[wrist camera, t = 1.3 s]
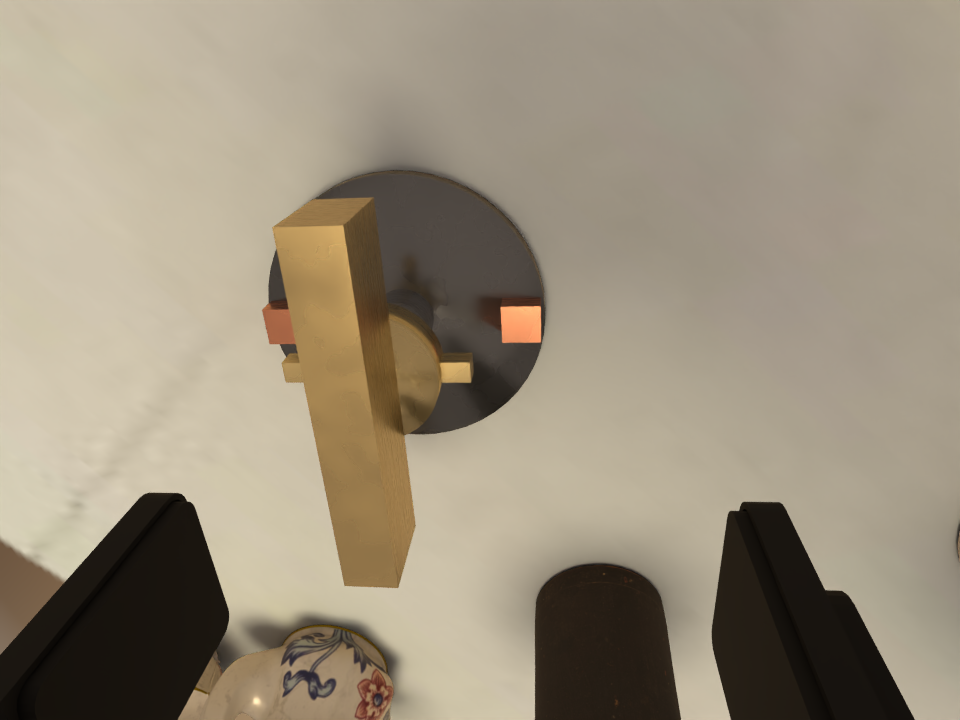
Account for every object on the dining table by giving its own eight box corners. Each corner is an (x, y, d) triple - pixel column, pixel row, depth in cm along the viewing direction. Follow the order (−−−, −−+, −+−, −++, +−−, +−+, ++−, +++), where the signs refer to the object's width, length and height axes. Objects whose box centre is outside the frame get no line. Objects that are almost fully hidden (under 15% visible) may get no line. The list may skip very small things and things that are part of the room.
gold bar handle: (461, 183, 26) (437, 222, 21) (482, 500, 33) (468, 590, 28) (256, 190, 27) (183, 229, 22) (320, 497, 34) (277, 583, 29)
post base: (543, 164, 31) (541, 191, 26) (546, 426, 38) (545, 490, 33) (249, 175, 33) (191, 203, 28) (301, 424, 40) (262, 484, 34)
